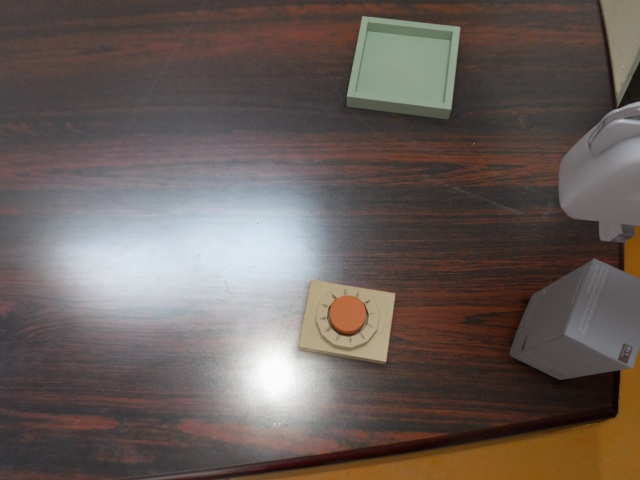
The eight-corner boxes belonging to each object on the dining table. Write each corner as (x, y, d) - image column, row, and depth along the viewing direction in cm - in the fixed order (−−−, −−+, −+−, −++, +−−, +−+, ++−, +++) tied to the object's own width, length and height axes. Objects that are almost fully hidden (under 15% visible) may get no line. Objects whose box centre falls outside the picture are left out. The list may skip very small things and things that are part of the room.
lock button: (368, 302, 60) (368, 298, 59) (362, 337, 59) (363, 334, 57) (333, 296, 61) (332, 292, 59) (327, 331, 59) (326, 327, 58)
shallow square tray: (457, 38, 78) (460, 26, 75) (448, 119, 73) (451, 109, 71) (361, 28, 79) (362, 15, 77) (346, 106, 74) (346, 96, 72)
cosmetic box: (530, 294, 64) (586, 248, 49) (589, 321, 62) (666, 282, 47) (504, 358, 61) (556, 330, 46) (565, 388, 60) (639, 368, 45)
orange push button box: (394, 298, 64) (397, 288, 60) (384, 364, 61) (387, 359, 58) (312, 284, 65) (310, 274, 61) (299, 349, 62) (296, 343, 59)
